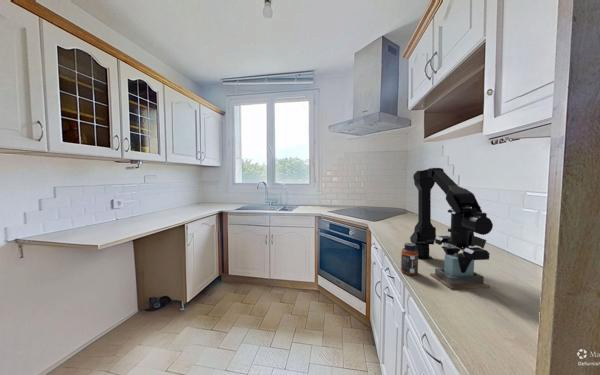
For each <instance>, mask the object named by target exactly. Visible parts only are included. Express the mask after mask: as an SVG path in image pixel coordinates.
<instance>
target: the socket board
mask: <svg viewBox="0 0 600 375" xmlns="http://www.w3.org/2000/svg"><path fill="white" fill-rule="evenodd" d="M429 276H431V277H432V278H434V280H436V281H438V282H439V283H440V284H442V285H443V286H445V287H446V288H448V289H450V290H467V289H469V290H470V289H484V288H485V289H486V288H487V289H488V288H491V285H490V284H487V283H485V282H484V279H485V276H483V275H481V274H479V273H478V272H475V271H474V276H461V277H451V276H449V275H448V274H446V273H444V267H443V268H435V272H434V273H429Z"/></svg>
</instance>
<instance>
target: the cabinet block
mask: <svg viewBox="0 0 600 375" xmlns="http://www.w3.org/2000/svg"><path fill="white" fill-rule="evenodd" d="M457 254H462V252H458V253H454V255H446V254H444V261H443V262H444V265H443V266H444V267H443V268H444V273H446V274H448V275H449V276H451V277H461V276H474V272H475V260H472V261H471V263H470V264H469V266H468V268H467V270H466V272H465V273H462V272H461V269H460V265H459V261H458V256H457Z"/></svg>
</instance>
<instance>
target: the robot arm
mask: <svg viewBox="0 0 600 375" xmlns="http://www.w3.org/2000/svg"><path fill="white" fill-rule="evenodd" d="M412 178H413V181H414V183H413V184H414V186H415V187H416V189H417V192H418V194H417V195H418V197H417V198H418V207H417V208H418V209H417V210H418V216H417V217H418V219H417V220H418V221H417V223H416V224H415V226H414V228H413V229H414V230H413V233H412V234H411V236H410V237H409V239H410V243H413V244H415V245H416V250H417V251H418V260H422V259H423V260H424V259H433V257H432V256H431V255H430V245H432V246H433V245H434V244H437V245H439V246H441V249H442V250H443V251H444V253H445V255H454V253H460V251H462V252H461V253H462V254H457V256H458V261H459V265H460V269H461V272H462V273H465V272H466V270H467V268H468V266H469V264H470V263H471V261H472V260H474V261H487V260H488V261H489V260H490V252H489V250H486V249H485V246H486V244H487V239H484V238H481V237H478V236H475V233H476V234H478V235H483V236H485V235H488V234H490V232H492V230H493V226H494V225H493V224H494V223H493V221H492V219H491V218H489V217H487V215H488V214H487V212H483V211H482V207H481V205H480V204H479V202H478V200H477V199H476V196H475V194H474V193H473V192H472V191H470V190H468V189H467V188H464V187H461V186H460V185H458V184H457V183H456V182H455V181H454V180H453V179H452V178H451V177H450V176H449V175H448V174H447V173H446V172H445V170H444V169H443V168H442V167H430V168H427V169H424V170H417V171H415V172H414V174H413V176H412ZM435 184H436V185H437V186H438V187H439V188H440V189H441V191H442V192H443V193H444V194H445V201H446V202H447V203H448V205H449V207H450V209H448V210H447V213H450V228H447V232H448V233H450V235H437V232H436V231H437V228H436V226H433V224H432V220H431V218H432V216H431V214H432V210H431V207H432V206H431V204H432V202H431V200H432V199H431V198H432V196H431V194H432V192H431V191H432V189H433V187H434V186H435ZM442 244H443V245H442Z"/></svg>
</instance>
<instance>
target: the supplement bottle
mask: <svg viewBox="0 0 600 375" xmlns="http://www.w3.org/2000/svg"><path fill="white" fill-rule="evenodd" d="M400 255H401V262H400V270H401V273H402V274H405V275H408V276H417V274H418V273H419V270H418V269H419V259H418V251H417V250H416V245H415V244H413V243H412V242H405V243H404V247H403V248H402V249H401V254H400Z"/></svg>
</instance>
